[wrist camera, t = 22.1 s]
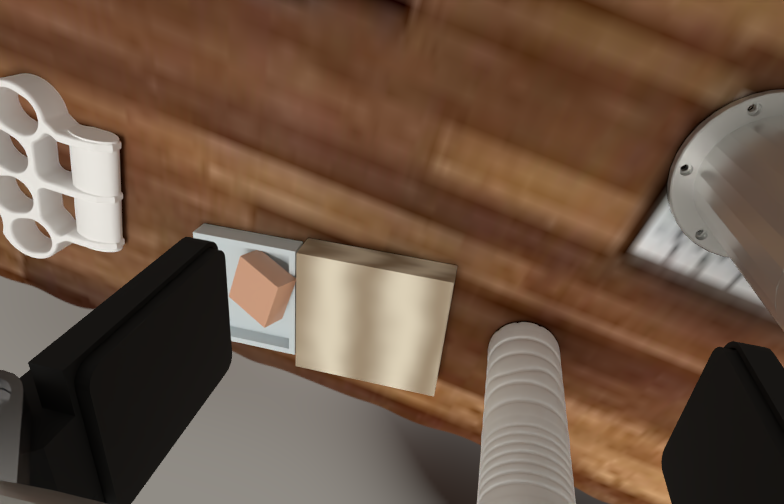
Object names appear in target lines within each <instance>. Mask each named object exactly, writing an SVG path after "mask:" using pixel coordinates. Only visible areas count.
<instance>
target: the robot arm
mask: <svg viewBox="0 0 784 504" xmlns="http://www.w3.org/2000/svg"><path fill="white" fill-rule="evenodd" d="M752 104H754V107H753V108H752V109H751V110H748V108H749V106H750V105H752ZM685 164H687V166H686V168H684V169H680V168H681V167H682V166H683V165H685ZM667 195H668V202H669V206H670V210H671V213H672V214H673V216H674V218H675V220H676V222H677V224H678V225H679V227H680V228H681V229H682V231H683V232H684V234H685V235H686V236H687V237H688V238H689V239H690V240H691V241H693V242H694V243H695V244H697V245H698V246H700V247H702V248H704V249H705V250H707V251H709V252H712V253H715V254H717V255H720V256H723V257H729V258H730V259H731V260H732V261H733V263H734V264H735V265H736V267H737V268H738V270H739V271H740V272H741V274H742V275H743V276H744V278H745V279H746V281H747V282H748V283H749V285H750V286H751V287H752V289H753V290H754V292H755V293H756V294H757V296H758V297H759V298H760V300H761V301H762V303H763V304H764V305H765V307H766V308H767V309H768V311H769V312H770V313H771V315H772V316H773V318H774V319H775V320H776V322H777V323H778V324H779V326H780V327H781V329H782V330H783V331H784V89H780V90H770V91H765V92H761V93H756V94H752V95H749V96H747V97H744V98H742V99H739V100H736V101H734V102H732V103H730V104H728V105H727V106H725V107H723V108H721V109H719V110H718V111H716V112H714V113H713V114H712V115H711V116H709V117H708V118H707V119H706V120H704V121H703V122H702V123H700V124H699V125H698V126H697V127H696V129H695V130H694V131H693V132H692V133H691V134H690V135H689V136H688V137H687V138H686V140H685V141H684V143H683V144H682V146H681V147H680V149H679V150H678V152H677V154H676V156H675V159H674V161H673V163H672V166H671V168H670V173H669V178H668V182H667ZM699 230H701V231H700V232H697V231H699ZM231 359H232V346H231V332H230V317H229V303H228V288H227V274H226V259H225V254H224V252H223V251H222V250H218V246H217V244H216V243H215V242H212V241H207V240H202V239H197V238H192V237H185V238H183V239H181V240H180V241H179V242H178V243H176V244H175V245H174V246H173V247H171V248H170V249H169V250H168V251H166V252H165V253H164V254H163V255H161V256H160V257H159V258H158V259H157V260H155V261H154V262H153V263H152V264H150V265H149V266H148V267H147V268H145V269H144V270H143V271H142V272H140V273H139V274H138V275H137V276H135V277H134V278H133V279H132V280H130V281H129V282H128V283H127V284H125V285H124V286H123V287H122V288H120V289H119V290H118V291H117V292H115V293H114V294H113V295H112V296H110V297H109V298H108V299H107V300H105V301H104V302H103V303H102V304H100V305H99V306H98V307H97V308H95V309H94V310H93V311H92V312H90V313H89V314H88V315H87V316H85V317H84V318H83V319H82V320H81V321H79V322H78V323H77V324H76V325H74V326H73V327H72V328H71V329H69V330H68V331H67V332H66V333H65V334H63V335H62V336H61V337H59V338H58V339H57V340H56V341H54V342H53V343H52V344H51V345H49V346H48V347H47V348H46V349H45V350H43V351H42V352H41V353H39V354H38V355H37V356H36V357H34V358H33V359H32V360H31V361H29V363H28V364H29V367H30V370H29V371H28V372H27V373H25V374H24V375H23V376H22V377H21V378H18V377H17V376H16V375H15V374H13V373H10V372H7V371H4V370H0V504H131V503H132V502H133V501H134V499H135V498H136V496H137V495H138V494H139V492H140V491H141V489H142V488H143V487H144V485H145V484H146V482H147V481H148V480H149V478H150V477H151V476H152V474H153V473H154V472H155V470H156V469H157V467H158V466H159V465H160V463H161V462H162V461H163V459H164V458H165V456H166V455H167V454H168V452H169V451H170V449H171V448H172V446H173V445H174V444H175V442H176V441H177V439H178V438H179V437H180V435H181V434H182V433H183V431H184V430H185V429H186V427H187V426H188V425H189V423H190V422H191V420H192V419H193V418H194V416H195V415H196V413H197V412H198V411H199V409H200V408H201V406H202V405H203V404H204V403H205V401H206V400H207V398H208V397H209V395H210V394H211V393H212V391H213V390H214V389H215V387H216V386H217V385H218V383H219V382H220V381H221V379H222V378H223V376H224V375H225V373H226V372H227V370H228V369H229V366H230V363H231ZM662 471H663V475H664V478H665V482H666V485H667V489H668V492H669V496H670V499H671V503H672V504H784V368H783V366H782V365H781V363H780V362H779V360H778V359H777V357H776V356H775V354H774V353H773V352H772V351H771V350H770V349H768V348H765V347H760V346H755V345H750V344H744V343H739V342H734V341H733V342H729V343H728V344H727V345H725V347H724V348H722V347H717V348H716V349H715V350H714V351H713V352H712V354H711V356H710V358H709V360H708V362H707V364H706V366H705V368H704V370H703V372H702V374H701V376H700V378H699V380H698V382H697V384H696V386H695V388H694V390H693V392H692V394H691V396H690V398H689V400H688V402H687V404H686V406H685V408H684V410H683V412H682V414H681V416H680V418H679V420H678V422H677V424H676V426H675V428H674V430H673V432H672V435H671V437H670V439H669V441H668V443H667V445H666V447H665V449H664V451H663V455H662Z"/></svg>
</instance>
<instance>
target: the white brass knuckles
mask: <svg viewBox="0 0 784 504" xmlns="http://www.w3.org/2000/svg"><path fill="white" fill-rule="evenodd" d="M18 94H20V95H21V96H23V97H24V98H25V99H27V100H28V101H29V103H30V104H31V105H32V106H33V108H34V110H35V112H36V114H37V118H38V122H37V121H36V120H34V119H32V118H31V117H30V116H29V115H27V113H26V112H25V111H24V110H23V108H22V106H21V104H20V102H19V98H18ZM10 135H11V136H13V137H14V138H15V139H17V140H18V141H19V142H20V144H21V145H22V146H23V148H24V149H25V151H26V154H27V157H26V156H24V155H23V154H21V153H20V152H19V151H18V150H17V149H16V148H15V146H14V145H13V143H12V141H11V139H10ZM57 142H61V143H64V144H67V145H69V146H70V158H71V170H72V172H71V171H67V170H65V169H64V168H63V167H62V166H61V165H60V163H59V158H58V148H57ZM120 149H121V141H119V137H118V136H117V135H115V134H114V133H111V132H108V131H105V130H102V129H98V128H95V127H90V126H84V125H80V124H79V123H78V122H77V121H76V120H75V119H74V118H73V117H72V116H71V115H70V114H69V113H68V110H67V107H66V105H65V103H64V101H63V99H62V97H61V96H60V94H59V93H58V92H57V90H56V89H55V88H54V87H53V86H52V85H51V84H50V83H48V82H47V81H46V80H44V79H43V78H41V77H39V76H36V75H33V74H28V73H23V74H18V75H13V76H8V77H3V78H0V215H1V217H2V220H3V226H4V228H3V233H4V235H5V236H6V238H7V239H8V240H9V242H10V243H11V244H12V245H13V246H14V247H15V248H17V249H18V250H19V251H21V252H22V253H24V254H26V255H28V256H31V257H34V258H47V257H50V256H52V255H54V254H55V253H57V252H59V251H60V250H62V249H64V248H65V247H67V246H68V245H70V244H72V243H75V244H78V245H81V246H85V247H87V248H90V249H93V250H97V251H103V252H117V251H120V250H122V248H123V245H124V244H125V239H124V238H123V231H122V201H121V200H122V199H123V193H122V192H121V173H120ZM16 178H17V179H19V180H20V181H21V182H23V183H24V184H25V185H26V186H27V188H28V189H29V191H30V192H31V194H32V197H33V200H32V199H30V198H29V197H27V196H26V195H25V194H24V193H23V192H22V191H21V190H20V188H19V186H18V184H17V182H16ZM62 194H65V195H68V196H71V197H74V203H75V215H76V220H75V219H74V218H73V216H72V215H71V214H70V213H69V212H68V211H67V210H66V209H65V208H64V206H63V199H62ZM34 220H35V221H37V222H38V223H40V224H41V225H42V226H43V227H44V228H45V229H46V230H47V231H48V233H49V234H50V237H51V238H48V237H47V236H45V235H44V234H43V233H42V232H41V231H40V230H39V229H38V227H37V226H36V224H35V221H34Z"/></svg>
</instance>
